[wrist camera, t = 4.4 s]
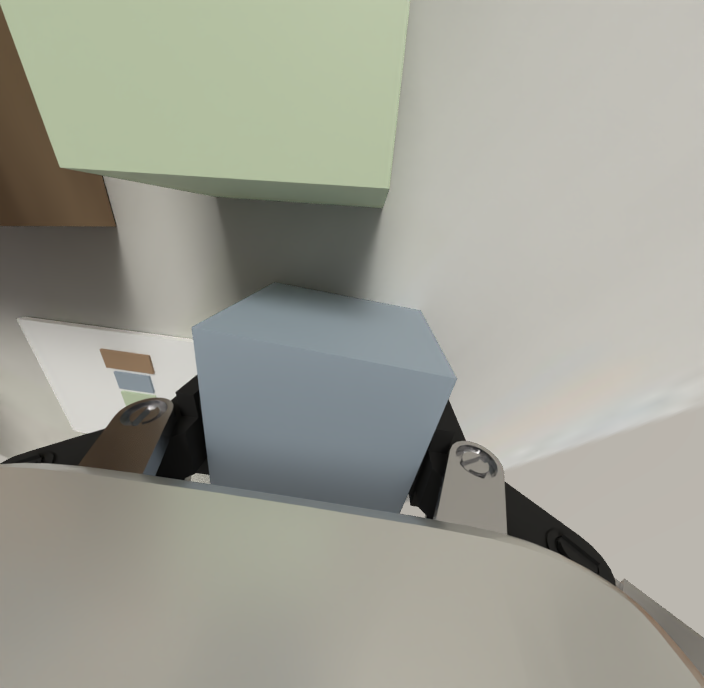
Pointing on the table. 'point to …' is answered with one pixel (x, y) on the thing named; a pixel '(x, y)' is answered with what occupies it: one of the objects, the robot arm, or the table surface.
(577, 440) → the table surface
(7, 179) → the walnut base brick
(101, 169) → the sage brick
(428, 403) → the slate brick
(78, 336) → the page
